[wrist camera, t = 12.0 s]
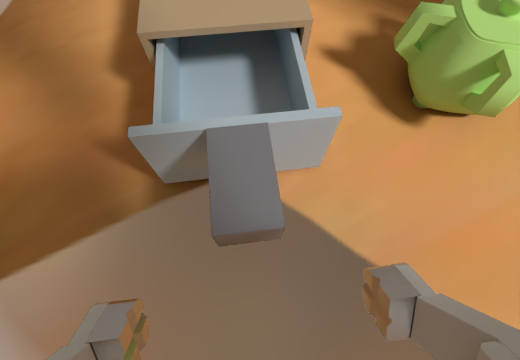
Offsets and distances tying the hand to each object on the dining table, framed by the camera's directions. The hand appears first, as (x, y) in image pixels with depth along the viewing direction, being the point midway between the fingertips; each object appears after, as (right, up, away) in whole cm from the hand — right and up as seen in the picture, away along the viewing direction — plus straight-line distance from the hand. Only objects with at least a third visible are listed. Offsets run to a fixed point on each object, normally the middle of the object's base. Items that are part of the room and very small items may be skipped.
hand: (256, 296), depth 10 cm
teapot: (+20, +14, +20) cm, 32 cm away
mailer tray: (-2, +10, +17) cm, 19 cm away
